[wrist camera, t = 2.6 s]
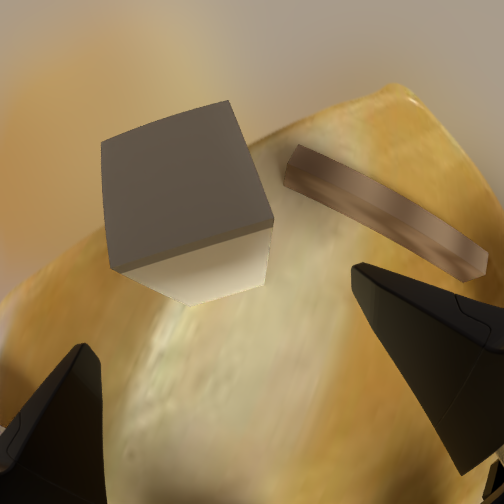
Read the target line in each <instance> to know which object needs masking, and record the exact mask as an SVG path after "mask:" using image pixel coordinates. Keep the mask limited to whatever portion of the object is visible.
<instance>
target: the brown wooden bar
mask: <svg viewBox="0 0 504 504" xmlns="http://www.w3.org/2000/svg"><path fill="white" fill-rule="evenodd" d="M284 186H286V187H288V188H290V189H293V190H295V191H297V192H299V193H301V194H303V195H305V196H307V197H310V198H312V199H314V200H316V201H318V202H320V203H322V204H324V205H326V206H328V207H330V208H332V209H334V210H336V211H338V212H340V213H342V214H344V215H346V216H348V217H350V218H352V219H354V220H356V221H357V222H359V223H361V224H363V225H365V226H367V227H369V228H371V229H373V230H374V231H376V232H378V233H380V234H382V235H384V236H385V237H387V238H389V239H391V240H393V241H394V242H396V243H398V244H400V245H401V246H403V247H405V248H407V249H408V250H410V251H412V252H414V253H415V254H417V255H419V256H420V257H422V258H424V259H426V260H427V261H429V262H431V263H432V264H434V265H435V266H437V267H439V268H440V269H442V270H444V271H445V272H447V273H448V274H450V275H452V276H453V277H455V278H456V279H458V280H459V281H461V282H463V283H464V282H467V281H469V280H472V279H475V278H478V277H481V276H483V275H485V274H486V268H487V261H488V254H489V253H488V252H487V251H485V250H484V249H483V248H481V247H480V246H478V245H477V244H476V243H474V242H473V241H472V240H470V239H469V238H467V237H466V236H464V235H463V234H462V233H460V232H459V231H457V230H456V229H454V228H453V227H451V226H450V225H448V224H447V223H445V222H444V221H442V220H441V219H439V218H438V217H436V216H434V215H433V214H431V213H430V212H428V211H427V210H425V209H423V208H422V207H420V206H418V205H417V204H415V203H413V202H412V201H410V200H408V199H407V198H405V197H403V196H401V195H400V194H398V193H396V192H394V191H393V190H391V189H389V188H387V187H385V186H384V185H382V184H380V183H378V182H376V181H374V180H372V179H371V178H369V177H367V176H365V175H363V174H361V173H359V172H357V171H355V170H353V169H351V168H349V167H347V166H345V165H343V164H341V163H339V162H337V161H335V160H333V159H330V158H328V157H326V156H324V155H322V154H320V153H317V152H315V151H313V150H311V149H308V148H306V147H304V146H302V145H299V144H298V146H297V148H296V150H295V151H294V153H293V155H292V156H291V158H290V160H289V162H288V163H287V169H286V175H285V181H284Z"/></svg>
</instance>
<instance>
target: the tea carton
mask: <svg viewBox="0 0 504 504" xmlns="http://www.w3.org/2000/svg"><path fill="white" fill-rule="evenodd" d="M101 172H102V193H103V208H104V219H105V230H106V239H107V247H108V254H109V261H110V268H111V269H113V270H115V271H117V272H118V273H120V274H122V275H124V276H126V277H128V278H130V279H132V280H134V281H136V282H138V283H140V284H142V285H144V286H146V287H148V288H150V289H153V290H155V291H157V292H159V293H161V294H163V295H165V296H167V297H169V298H172V299H174V300H176V301H178V302H180V303H182V304H185V305H187V306H189V307H191V306H195V305H198V304H202V303H205V302H209V301H212V300H216V299H219V298H222V297H226V296H229V295H232V294H236V293H239V292H242V291H246V290H249V289H252V288H255V287H259V286H262V285H264V282H265V276H266V269H267V263H268V256H269V250H270V243H271V236H272V230H273V223H274V216H273V213H272V210H271V208H270V205H269V202H268V200H267V197H266V194H265V192H264V189H263V186H262V184H261V181H260V178H259V176H258V173H257V171H256V168H255V165H254V163H253V160H252V158H251V155H250V152H249V150H248V147H247V145H246V142H245V140H244V137H243V135H242V133H241V130H240V127H239V125H238V122H237V120H236V117H235V115H234V112H233V110H232V108H231V105H230V103H229V101H228V100H227V101H223V102H219V103H215V104H211V105H207V106H203V107H200V108H196V109H193V110H189V111H186V112H182V113H179V114H176V115H173V116H170V117H167V118H163V119H161V120H157V121H155V122H152V123H149V124H146V125H143V126H140V127H138V128H135V129H132V130H130V131H127V132H125V133H122V134H120V135H117V136H115V137H112V138H110V139H107V140H105V141H103V142H101Z"/></svg>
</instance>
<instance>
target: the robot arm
mask: <svg viewBox="0 0 504 504" xmlns="http://www.w3.org/2000/svg"><path fill="white" fill-rule="evenodd" d="M351 287H352V291H353V294H354V296H355V298H356V299H357V301H358V303H359V305H360V307H361V309H362V311H363V313H364V315H365V316H366V318H367V320H368V322H369V324H370V326H371V328H372V330H373V331H374V333H375V334H376V336H377V337H378V339H379V340H380V342H381V343H382V345H383V346H384V348H385V349H386V351H387V352H388V354H389V355H390V357H391V358H392V360H393V361H394V363H395V365H396V366H397V368H398V369H399V371H400V372H401V374H402V375H403V377H404V379H405V380H406V382H407V383H408V385H409V387H410V388H411V390H412V391H413V393H414V395H415V396H416V398H417V400H418V401H419V403H420V404H421V406H422V408H423V409H424V411H425V413H426V414H427V416H428V418H429V420H430V421H431V423H432V425H433V426H434V428H435V430H436V432H437V434H438V435H439V437H440V439H441V441H442V442H443V444H444V446H445V448H446V450H447V451H448V453H449V455H450V457H451V459H452V460H453V462H454V464H455V466H456V468H457V470H458V472H459V473H460V475H461V476H463V475H464V474H466V473H467V472H469V471H470V470H472V469H473V468H474V467H476V466H477V465H479V464H480V463H481V462H483V461H484V460H485V459H487V458H488V457H489V456H491V455H492V454H493V453H494V452H495V453H496V455H497V457H498V459H497V460H496V461H495V462H494V463H493V464H492V465H491V466H490V471H489V475H488V478H487V482H486V486H485V489H484V492H483V496H482V498H483V500H484V501H483V502H482V503H481V504H504V308H500V307H496V306H492V305H489V304H486V303H482V302H479V301H476V300H473V299H470V298H467V297H464V296H461V295H458V294H454V293H453V292H450V291H447V290H444V289H441V288H438V287H435V286H433V285H430V284H427V283H424V282H421V281H418V280H415V279H412V278H409V277H406V276H403V275H400V274H398V273H395V272H392V271H389V270H386V269H383V268H380V267H377V266H374V265H371V264H367V263H364V262H362V263H359V264H356V265H353V266H352V268H351ZM0 504H107V496H106V487H105V476H104V460H103V400H102V382H101V363H100V360H99V358H98V357H97V356H96V354H95V353H94V352H93V350H92V349H91V348H90V346H89V345H88V344H86V343H81V344H77V345H75V346H74V347H73V348H72V349H71V350H70V352H69V353H68V354H67V355H66V356H65V357H64V358H63V360H62V361H61V362H60V363H59V364H58V365H57V366H56V368H55V369H54V370H53V371H52V372H51V373H50V375H49V376H48V377H47V378H46V379H45V381H44V382H43V383H42V384H41V385H40V387H39V388H38V389H37V390H36V391H35V393H34V394H33V395H32V396H31V398H30V399H29V400H28V401H27V402H26V404H25V405H24V406H23V408H22V409H21V410H20V412H19V413H18V414H17V415H16V416H15V418H14V419H13V420H12V421H11V423H10V424H9V425H8V427H7V428H6V429H5V430H4V431H3V433H2V434H1V435H0Z"/></svg>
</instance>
